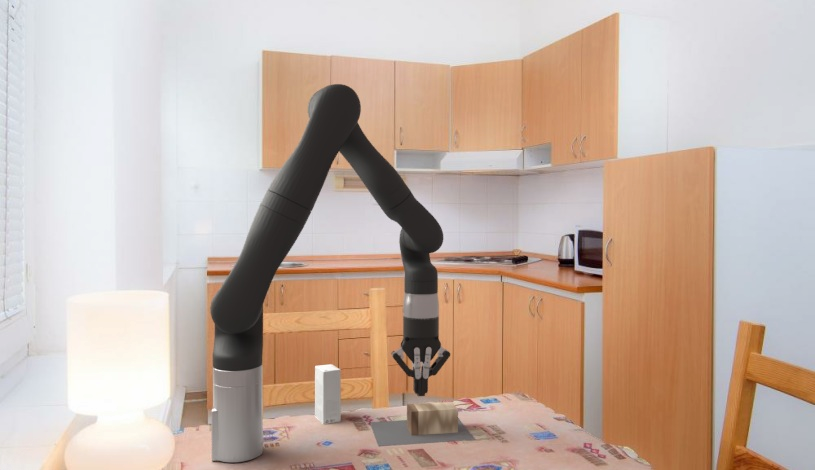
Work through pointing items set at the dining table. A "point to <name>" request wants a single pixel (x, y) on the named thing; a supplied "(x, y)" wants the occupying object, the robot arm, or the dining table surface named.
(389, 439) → the mat
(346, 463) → the dining table surface
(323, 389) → the skincare box
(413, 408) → the birch block
